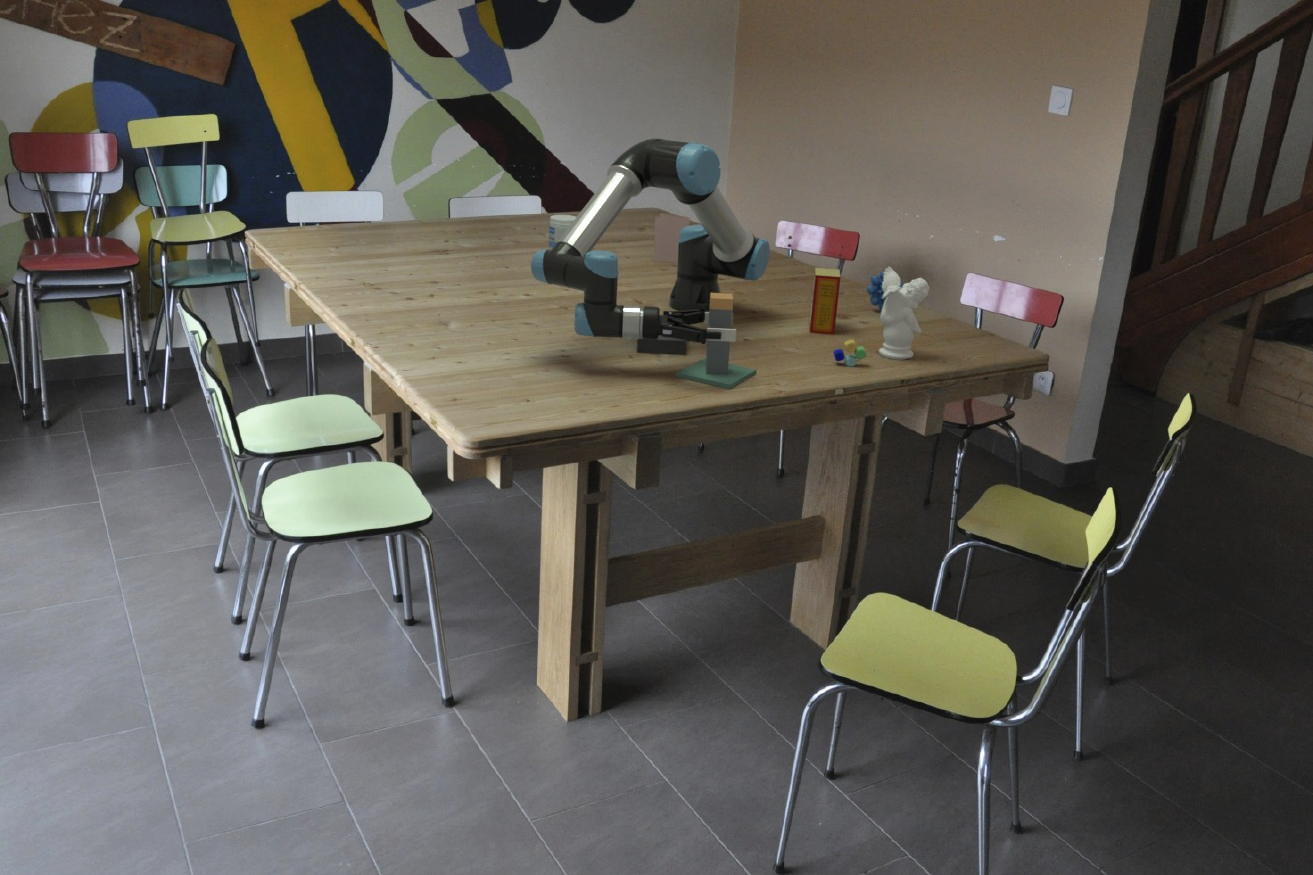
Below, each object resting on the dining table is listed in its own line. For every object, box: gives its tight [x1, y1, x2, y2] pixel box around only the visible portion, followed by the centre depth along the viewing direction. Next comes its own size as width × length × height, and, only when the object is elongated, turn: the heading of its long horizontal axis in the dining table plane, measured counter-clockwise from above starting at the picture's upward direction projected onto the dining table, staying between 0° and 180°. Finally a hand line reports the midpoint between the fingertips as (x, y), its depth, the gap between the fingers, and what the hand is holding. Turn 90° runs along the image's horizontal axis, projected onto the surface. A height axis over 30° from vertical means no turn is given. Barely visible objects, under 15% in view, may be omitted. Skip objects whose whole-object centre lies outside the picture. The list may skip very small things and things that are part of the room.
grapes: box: [866, 270, 905, 312], centre depth 319 cm, size 12×7×12 cm, turn 89°
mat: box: [675, 357, 757, 390], centre depth 260 cm, size 14×14×1 cm
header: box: [636, 332, 687, 355], centre depth 279 cm, size 13×12×4 cm
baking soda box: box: [808, 267, 841, 335], centre depth 299 cm, size 10×6×16 cm
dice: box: [833, 339, 867, 367], centre depth 272 cm, size 8×3×6 cm, turn 89°
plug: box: [705, 292, 734, 375], centre depth 257 cm, size 5×5×18 cm
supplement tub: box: [548, 214, 577, 250], centre depth 359 cm, size 10×10×15 cm
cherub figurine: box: [878, 265, 930, 360], centre depth 278 cm, size 12×12×22 cm
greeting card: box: [652, 212, 691, 263], centre depth 368 cm, size 11×7×15 cm, turn 59°
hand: (734, 327), depth 256 cm, fingers open, 13 cm apart
